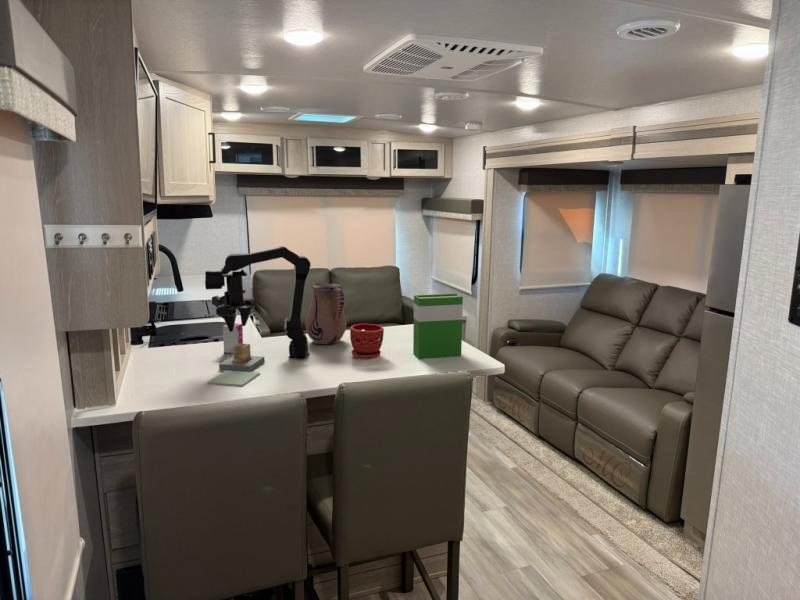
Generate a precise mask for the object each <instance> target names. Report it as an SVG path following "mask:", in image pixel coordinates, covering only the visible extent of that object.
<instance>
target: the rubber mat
mask: <svg viewBox="0 0 800 600" xmlns="http://www.w3.org/2000/svg"><path fill="white" fill-rule="evenodd" d="M260 375H261V372H258V371H251V372H244V371H230V370H223V371H222V372H221V373H220V374H218V375H216V376H214V377H213V378H211V379H210V380H208V381H206V385H217V386H229V387H231V386H232V387H233V386H234V387H244V386H245V385H247V384H248V383H250V382H251V381H253V380H255V378H257V377H258V376H260Z"/></svg>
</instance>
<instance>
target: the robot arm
mask: <svg viewBox="0 0 800 600" xmlns="http://www.w3.org/2000/svg"><path fill="white" fill-rule="evenodd" d="M280 258H281V259H282V258H283V259H284V260H286V262H289V263H290V264H292V265H293V270H294V271H293V272H294V285H293V292H292V300H291V307H290V314H289V316H288V317H284V326H283V329H284V332H285V333H286V336H287V338H288V339H289V340H290V339H291V340H290V341H289V345H288V353H289V356H288V358H289V359H300V360H301V359H303V360H304V359H306V358H308V356H310V352H309V343H308V341H309V339H308V337H307V335H306V334H307V333H306V332H304V331H303V330H302V321H301V319H302V318H301V314H302V307H303V306H302V305H303V300H304V299H303V298H304V292H305V283H306V280H307V277H308V275H309V272H310V269H311V266H312V265H311V262H310V261H311V260H309V258H308V257H306V256H304V255H298V254H297V253H295V252H293V251H292V250H290V249H288V248H287V247H286V246H283V245H281V246H279V247H275V248H271V249H265V250H260V251H256V252H251V253H231V254H228V255H227V257H226V258H225V261H224V266H223V267H222V268H221V269H220V270H215V271H213V270H206V271H205V272H204V274H205V277H204V278H205V280H204V284H205V285H204V286H205V290H222V289H223V287H225V286H226V290H227V291H224V293H223V294H224V295H222V296H219V295H215V296H212V297H211V304H212V306H215V315H217V316H218V317H220V318H222V319H223V320H224V322H225V325H227V327H228V329H229V331H230V332H233V329H234V324H236V319H237V314H236V312H237V311H238V312H239V315H240V320H241V324H242V327H246V325H247V323H248V321H249V320H248V319H249V317H250V316H251V313H252V311H253V309H254V308H255V306H256V300H254V298H247V297H246V298H245V297H244V294H245V293H246V289H244V286H243V285H244V284H243V277H247V276H248V273H247V272H246V271H245V270H244V268H246V267H249V266H250V265H252V264H259V263H263V262H267V261H271V260H276V259H280ZM238 270H240V271H238ZM225 281H226V283H225Z"/></svg>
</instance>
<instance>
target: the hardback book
mask: <svg viewBox="0 0 800 600" xmlns="http://www.w3.org/2000/svg"><path fill="white" fill-rule="evenodd" d="M463 300H464V296H458V293H440V294H439V293H438V294H436V293H435V294H418V295H417V294H416V295H415V294H414V295H413V336H412V337H413V341H412V342H413V343H412V344H413V345H412V346H413V349H412V350H413V351H412V353H413V355H414V357H415V358H416V359H418V360H429V359H431V360H432V359H444V358H456V357H457V358H458V357H459V358H460V357H462V342H463V339H462V337H463V335H462V334H463V304H464V303H463V302H464V301H463Z"/></svg>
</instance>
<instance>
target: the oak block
mask: <svg viewBox="0 0 800 600" xmlns="http://www.w3.org/2000/svg"><path fill="white" fill-rule="evenodd" d="M232 355H233V357H234V362H236V363H247V362H249V361H250V360H251V356H252V355H251V344H249V343H243V344H241V343H239V344H237V345H235V346H233V354H232Z"/></svg>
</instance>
